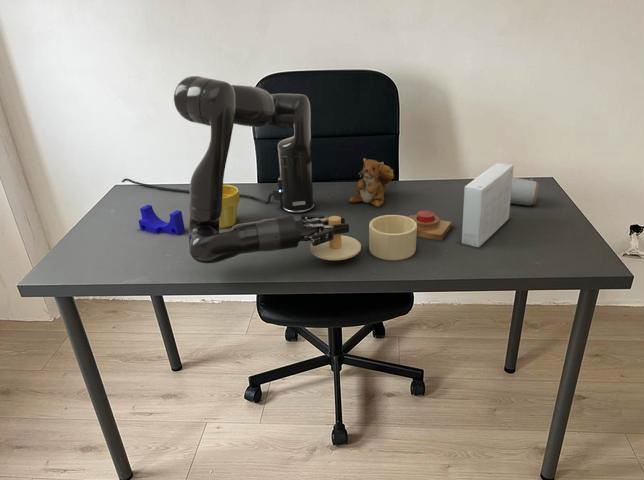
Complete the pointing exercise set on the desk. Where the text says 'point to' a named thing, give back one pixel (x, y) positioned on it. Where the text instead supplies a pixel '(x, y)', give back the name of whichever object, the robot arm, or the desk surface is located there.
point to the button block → (432, 228)
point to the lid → (336, 245)
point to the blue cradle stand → (160, 222)
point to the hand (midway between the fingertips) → (346, 224)
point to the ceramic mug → (523, 191)
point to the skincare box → (486, 204)
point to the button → (425, 216)
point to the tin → (392, 237)
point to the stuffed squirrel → (372, 183)
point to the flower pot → (229, 206)
